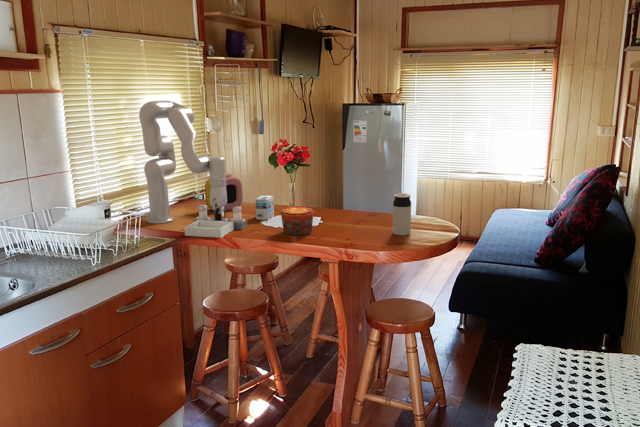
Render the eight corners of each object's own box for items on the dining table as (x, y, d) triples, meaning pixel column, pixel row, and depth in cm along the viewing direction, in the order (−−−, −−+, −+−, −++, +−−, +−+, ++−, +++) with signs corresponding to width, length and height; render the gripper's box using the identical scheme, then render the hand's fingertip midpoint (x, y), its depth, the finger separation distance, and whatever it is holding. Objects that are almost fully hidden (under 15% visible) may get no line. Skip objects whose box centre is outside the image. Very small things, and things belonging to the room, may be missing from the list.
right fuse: (232, 228, 260) (231, 207, 258) (235, 226, 264) (234, 206, 261) (240, 228, 259) (239, 208, 257) (243, 226, 263) (242, 206, 260)
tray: (184, 235, 248) (184, 227, 247) (199, 228, 261) (198, 219, 260) (221, 237, 243) (220, 229, 242) (233, 229, 257) (233, 221, 256)
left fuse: (198, 226, 264) (196, 206, 262) (201, 224, 268) (200, 204, 266) (205, 226, 263) (204, 206, 261) (209, 224, 267) (208, 204, 265)
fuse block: (193, 226, 263) (193, 218, 262) (200, 223, 270) (199, 215, 269) (241, 229, 257) (241, 221, 256) (247, 225, 264) (247, 217, 263)
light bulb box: (268, 220, 275) (267, 199, 272) (255, 219, 276) (255, 199, 274) (274, 215, 285) (273, 195, 283) (262, 215, 286) (261, 195, 284)
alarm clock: (215, 213, 291) (213, 177, 286) (204, 210, 299) (202, 175, 294) (244, 208, 303) (242, 174, 299) (233, 205, 311) (231, 171, 306)
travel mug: (397, 236, 242) (397, 197, 238) (389, 232, 249) (390, 193, 245) (413, 235, 244) (414, 195, 240) (405, 230, 252) (406, 192, 248)
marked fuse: (215, 227, 262) (213, 207, 260) (218, 225, 266) (217, 205, 264) (222, 227, 261) (221, 207, 259) (226, 225, 265) (225, 205, 263)
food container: (277, 236, 244) (276, 213, 242) (284, 227, 260) (283, 205, 257) (312, 237, 242) (311, 214, 240) (317, 228, 257) (316, 206, 255)
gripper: (218, 179, 267) (220, 216, 272) (203, 185, 252) (205, 223, 256) (232, 180, 266) (234, 216, 270) (218, 186, 250) (220, 224, 254)
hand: (220, 219), depth 263 cm, fingers closed on marked fuse, 3 cm apart
